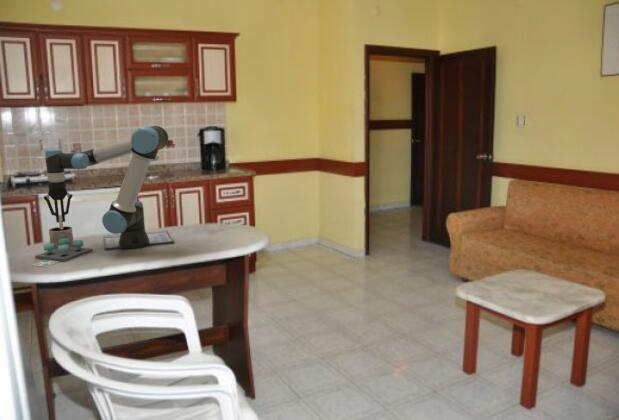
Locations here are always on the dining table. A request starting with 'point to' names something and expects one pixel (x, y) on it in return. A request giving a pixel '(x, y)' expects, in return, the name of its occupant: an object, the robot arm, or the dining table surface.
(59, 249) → the button
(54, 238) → the planter
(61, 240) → the button
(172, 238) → the dining table surface
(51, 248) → the button
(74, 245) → the button
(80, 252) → the board
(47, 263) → the card
